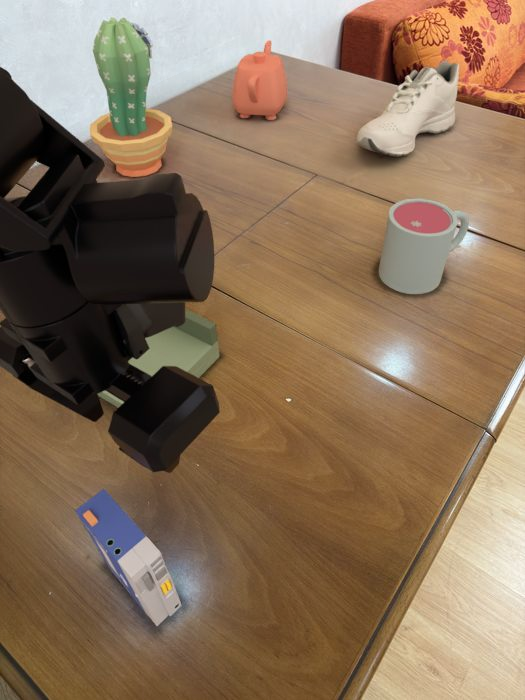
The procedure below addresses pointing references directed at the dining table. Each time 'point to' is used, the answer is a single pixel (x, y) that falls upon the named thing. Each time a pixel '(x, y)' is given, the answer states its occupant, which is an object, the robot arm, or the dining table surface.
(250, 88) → the teapot
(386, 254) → the mug
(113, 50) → the potted cactus
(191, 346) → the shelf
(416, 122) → the running shoe
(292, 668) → the dining table surface
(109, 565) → the walkman
